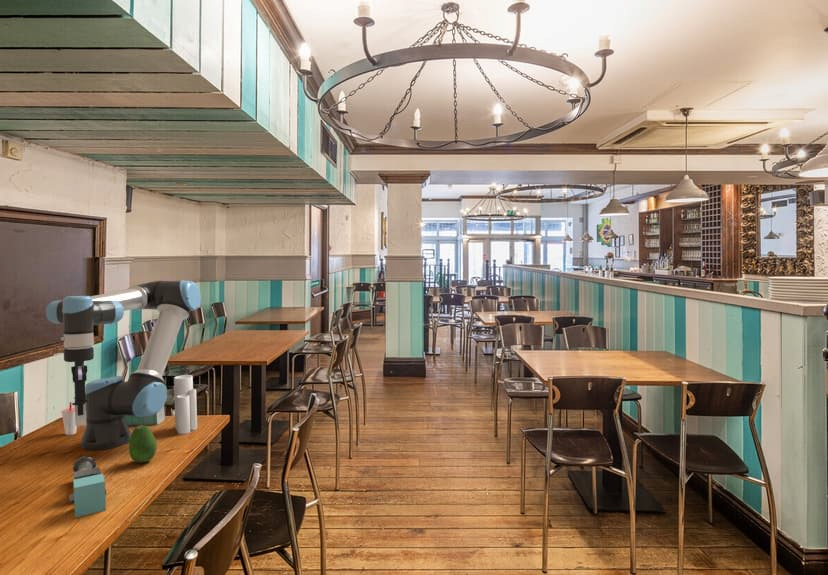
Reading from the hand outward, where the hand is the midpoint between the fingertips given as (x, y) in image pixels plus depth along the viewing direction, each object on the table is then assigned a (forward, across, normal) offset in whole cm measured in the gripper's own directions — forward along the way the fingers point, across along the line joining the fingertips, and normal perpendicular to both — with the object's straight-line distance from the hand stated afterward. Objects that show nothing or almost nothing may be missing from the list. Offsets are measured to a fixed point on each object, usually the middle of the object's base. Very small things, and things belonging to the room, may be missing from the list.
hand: (80, 425), depth 153 cm
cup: (+15, -48, -2) cm, 50 cm away
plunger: (+14, +12, +1) cm, 19 cm away
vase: (+15, -27, +35) cm, 46 cm away
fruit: (+15, 0, +17) cm, 23 cm away
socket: (+16, +27, +1) cm, 31 cm away
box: (+15, -46, +22) cm, 53 cm away
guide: (+15, +18, +1) cm, 24 cm away
